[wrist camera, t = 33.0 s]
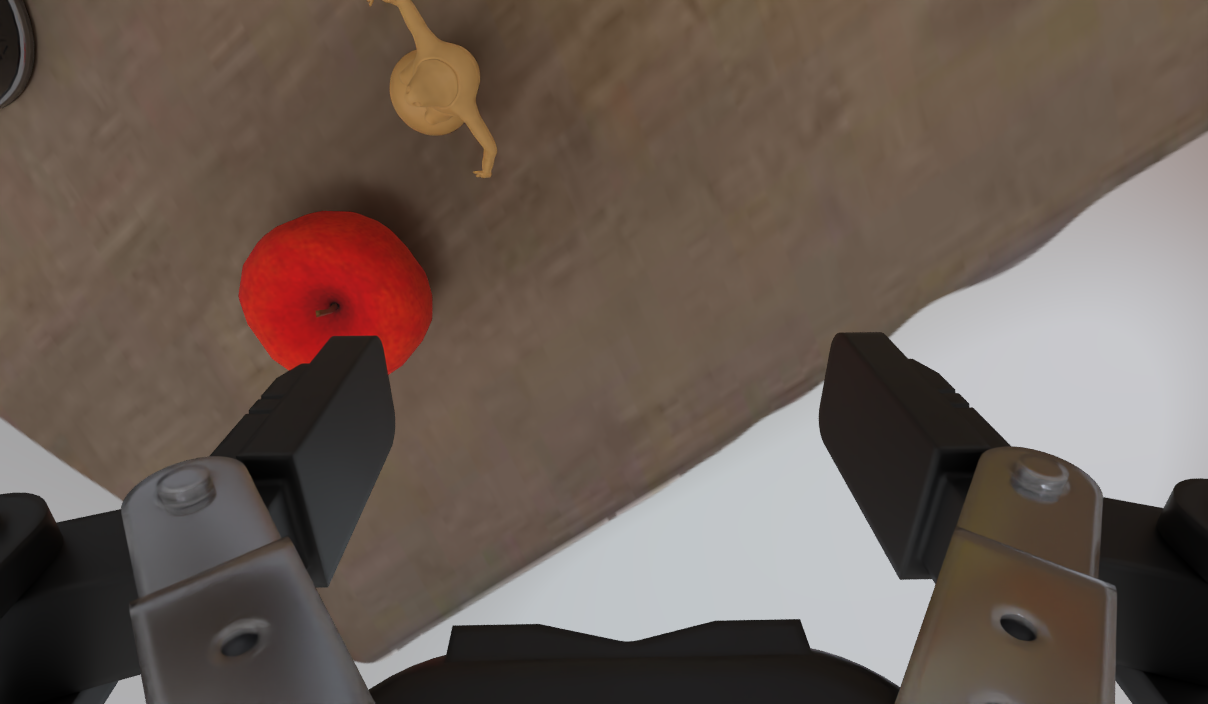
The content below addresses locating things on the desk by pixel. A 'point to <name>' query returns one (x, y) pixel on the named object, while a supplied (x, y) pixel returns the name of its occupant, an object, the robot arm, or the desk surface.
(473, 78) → the figurine
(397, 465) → the desk surface
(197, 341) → the desk surface
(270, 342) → the apple
